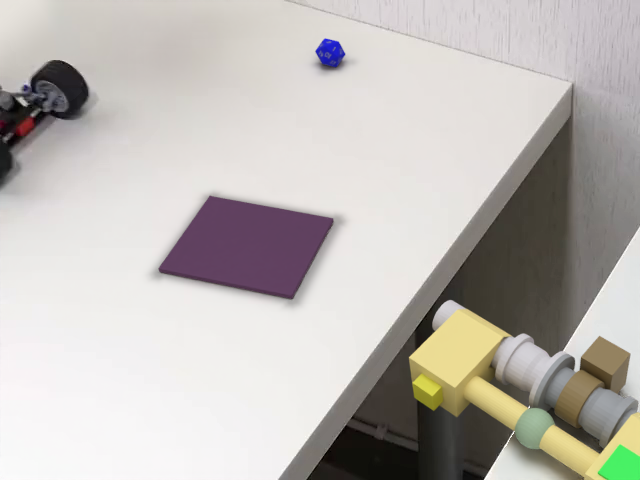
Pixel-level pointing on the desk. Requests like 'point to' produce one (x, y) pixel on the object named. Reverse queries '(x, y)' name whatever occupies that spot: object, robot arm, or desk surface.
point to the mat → (248, 246)
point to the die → (330, 52)
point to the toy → (533, 390)
